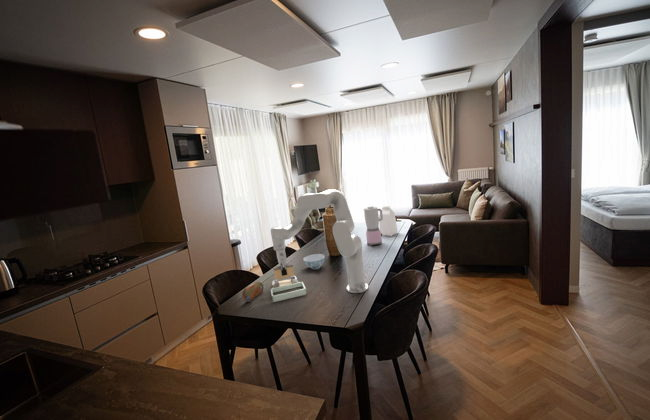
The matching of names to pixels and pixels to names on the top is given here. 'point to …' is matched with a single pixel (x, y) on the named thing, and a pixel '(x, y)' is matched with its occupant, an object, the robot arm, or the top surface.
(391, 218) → the milk
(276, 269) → the tan rectangular block
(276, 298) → the tray
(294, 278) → the clip holder
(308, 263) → the chinaware
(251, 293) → the orange plastic package
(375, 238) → the blender
